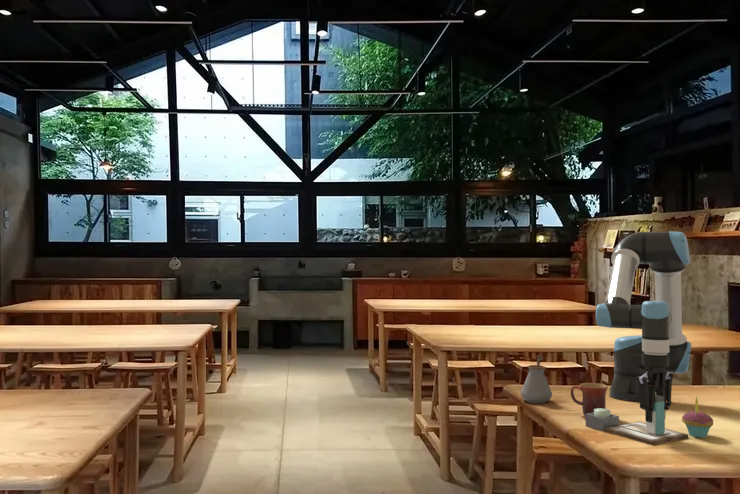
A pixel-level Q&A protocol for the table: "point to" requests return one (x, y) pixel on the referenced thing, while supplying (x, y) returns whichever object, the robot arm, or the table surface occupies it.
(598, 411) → the button
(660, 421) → the grey and mint block
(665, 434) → the picture frame
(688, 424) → the donut
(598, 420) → the button frame
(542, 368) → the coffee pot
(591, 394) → the mug
